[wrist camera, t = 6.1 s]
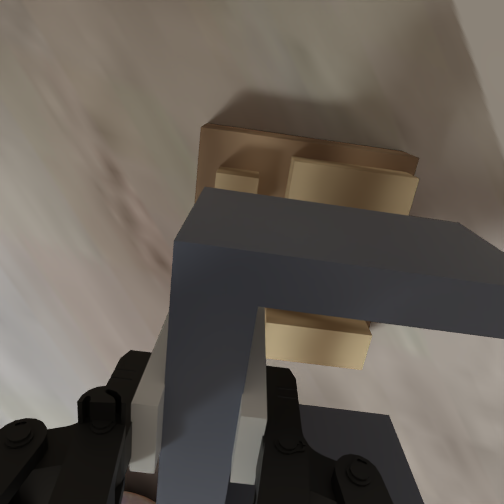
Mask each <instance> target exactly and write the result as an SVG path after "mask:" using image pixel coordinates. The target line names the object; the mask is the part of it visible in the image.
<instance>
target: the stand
mask: <svg viewBox="0 0 504 504" xmlns="http://www.w3.org/2000/svg"><path fill="white" fill-rule="evenodd" d="M418 160H419V158H418V157H415V156H413V155H410V154H408V153H405V152H403V151H398V150H391V149H384V148H377V147H370V146H363V145H356V144H349V143H342V142H335V141H328V140H321V139H314V138H307V137H300V136H293V135H286V134H279V133H272V132H265V131H258V130H251V129H244V128H237V127H230V126H223V125H216V124H209V123H207V124H205V125H203V126H202V127H201V132H200V144H199V156H198V169H197V181H196V193H195V203H196V201H197V199H198V197H199V196H200V194H201V192H202V190H203V189H204V187H211V188H218V189H225V190H232V191H239V192H246V193H253V194H260V195H267V196H274V197H281V198H288V199H295V200H302V201H310V202H317V203H324V204H331V205H338V206H345V207H352V208H359V209H366V210H373V211H380V212H387V213H394V214H401V215H409V212H410V208H411V205H412V202H413V199H414V195H415V192H416V189H417V185H418V182H419V178H417V177H415V176H414V174H415V171H416V167H417V164H418ZM370 323H371V321H364V320H356V319H348V318H341V317H333V316H325V315H318V314H310V313H303V312H295V311H287V310H280V309H272V308H265V345H266V358H267V359H275V360H283V361H292V362H300V363H308V364H317V365H325V366H333V367H341V368H350V369H358V370H362V368H363V365H364V361H365V358H366V355H367V351H368V348H369V345H370V341H371V338H372V334H371V332H370V330H369V327H370Z"/></svg>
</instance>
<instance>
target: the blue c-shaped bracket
mask: <svg viewBox="0 0 504 504" xmlns="http://www.w3.org/2000/svg"><path fill="white" fill-rule="evenodd" d="M258 307H265V308H272V309H280V310H287V311H295V312H303V313H310V314H318V315H325V316H333V317H341V318H348V319H356V320H364V321H371V322H379V323H386V324H394V325H402V326H409V327H417V328H424V329H432V330H440V331H447V332H455V333H463V334H470V335H478V336H485V337H493V338H501V339H504V252H502V251H501V250H499V249H498V248H496V247H495V246H493V245H492V244H490V243H488V242H487V241H485V240H484V239H482V238H481V237H479V236H478V235H476V234H475V233H473V232H472V231H470V230H469V229H467V228H466V227H464V226H463V225H461V224H460V223H457V222H450V221H443V220H436V219H429V218H422V217H415V216H408V215H401V214H394V213H387V212H380V211H373V210H366V209H359V208H352V207H345V206H338V205H331V204H324V203H317V202H310V201H302V200H295V199H288V198H281V197H274V196H267V195H260V194H253V193H246V192H239V191H232V190H225V189H218V188H211V187H204V189H203V190H202V192H201V194H200V196H199V197H198V199H197V201H196V203H195V204H194V206H193V208H192V210H191V211H190V213H189V215H188V217H187V218H186V220H185V222H184V224H183V225H182V227H181V229H180V231H179V233H178V234H177V236H176V238H175V240H174V248H173V263H172V277H171V292H170V307H169V322H168V337H167V352H166V366H165V381H164V385H165V392H164V408H163V424H162V440H161V451H160V455H159V470H158V485H157V500H156V504H252V503H253V498H254V493H255V488H256V478H255V483H254V485H250V484H241V483H232V482H230V476H231V463H232V454H233V448H234V442H235V435H236V429H237V423H238V417H239V411H240V404H241V398H242V394H243V393H244V387H245V381H246V375H247V369H248V363H249V358H250V352H251V346H252V340H253V334H254V328H255V322H256V316H257V310H258ZM299 409H300V417H301V425H302V432H303V436H304V438H305V440H306V441H307V442H308V444H309V446H310V447H311V448H312V449H314V450H315V451H316V452H318V453H320V454H322V455H324V456H326V457H328V458H331V459H333V460H336V461H337V460H338V459H339V458H340V457H341V456H343V455H347V454H354V455H360V456H362V457H364V458H366V459H368V460H369V461H370V462H371V463H372V464H373V465H375V466H376V468H377V470H378V471H379V473H380V474H381V476H382V479H383V481H384V483H385V486H386V488H387V490H388V492H389V495H390V497H391V499H392V501H393V504H424V502H423V500H422V497H421V495H420V492H419V490H418V487H417V485H416V482H415V479H414V477H413V474H412V472H411V469H410V467H409V464H408V462H407V459H406V457H405V454H404V452H403V449H402V447H401V444H400V442H399V439H398V437H397V434H396V432H395V429H394V427H393V424H392V422H391V419H390V417H389V415H383V414H375V413H367V412H359V411H351V410H343V409H334V408H326V407H318V406H310V405H302V404H299Z"/></svg>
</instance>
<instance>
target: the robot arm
mask: <svg viewBox="0 0 504 504" xmlns="http://www.w3.org/2000/svg"><path fill="white" fill-rule="evenodd" d="M168 322H169V312H168V315H167V317H166V320H165V322H164V325H163V327H162V329H161V332H160V334H159V337H158V339H157V342H156V344H155V347H154V349H153V351H152V353H150V352H142V351H134V350H130V351H129V352H128V353H126V354H125V355H124V356H123V357H121V358H120V360H119V362H118V364H117V366H116V368H115V370H114V372H113V374H112V375H111V379H109V381H108V383H107V385H106V386H101V387H96V388H93V389H91V390H88V391H87V392H86V393H84V394H83V395H82V396H81V397H80V399H79V400H78V401H77V405H78V423H76V424H73V425H70V426H66V427H60V428H53V429H47V427H46V426H45V424H44V423H43V422H42V421H40V420H37V419H32V418H25V419H20V420H15V421H13V422H11V423H9V424H7V425H5V426H4V427H3V428H1V429H0V504H121V502H122V497H123V492H124V487H125V473H126V471H127V468H128V465H129V462H130V471H133V472H142V473H151V474H154V473H155V469H156V465H157V462H158V458H159V454H160V451H161V440H162V424H163V408H164V392H165V385H164V381H165V366H166V352H167V337H168ZM255 478H256V488H255V493H254V498H253V503H252V504H393V501H392V499H391V497H390V495H389V492H388V490H387V488H386V486H385V483H384V481H383V479H382V476H381V474H380V473H379V471H378V470H377V468H376V466H375V465H373V464H372V463H371V462H370V461H369V460H368V459H366V458H364V457H362V456H360V455H354V454H347V455H343V456H341V457H340V458H339V459H338V460H337V461H336V460H333V459H331V458H328V457H326V456H324V455H322V454H320V453H318V452H316V451H315V450H314V449H312V448H311V447H310V446H309V444H308V442H307V441H306V440H305V438H304V436H303V432H302V425H301V417H300V409H299V401H298V393H297V385H296V378H295V377H294V375H293V374H292V372H291V371H290V369H288V368H280V367H272V366H266V345H265V307H258V310H257V316H256V322H255V328H254V334H253V340H252V346H251V352H250V358H249V363H248V369H247V375H246V381H245V387H244V393H243V394H242V398H241V404H240V411H239V417H238V423H237V429H236V435H235V442H234V448H233V454H232V463H231V476H230V482H232V483H241V484H250V485H254V483H255Z"/></svg>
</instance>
